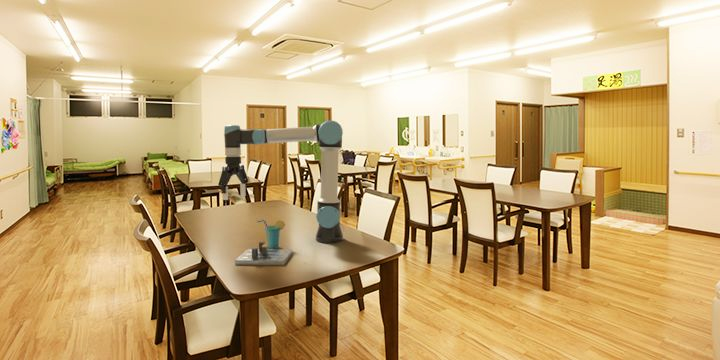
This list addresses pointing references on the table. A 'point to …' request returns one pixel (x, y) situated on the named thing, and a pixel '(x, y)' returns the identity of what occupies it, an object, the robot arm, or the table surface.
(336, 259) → the table surface
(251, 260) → the panel
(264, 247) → the block
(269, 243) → the cup
